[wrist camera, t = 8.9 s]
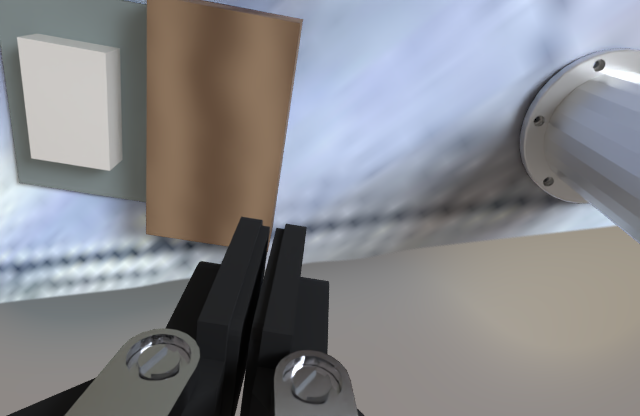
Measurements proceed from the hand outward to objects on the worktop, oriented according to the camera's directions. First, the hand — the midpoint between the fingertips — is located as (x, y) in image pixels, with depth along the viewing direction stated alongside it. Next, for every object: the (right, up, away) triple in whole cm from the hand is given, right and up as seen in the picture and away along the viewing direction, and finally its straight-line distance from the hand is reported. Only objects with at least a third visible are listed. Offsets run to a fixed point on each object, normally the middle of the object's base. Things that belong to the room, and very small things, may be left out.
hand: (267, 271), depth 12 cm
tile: (-17, +9, +22) cm, 29 cm away
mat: (-17, +10, +24) cm, 32 cm away
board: (-6, +8, +25) cm, 27 cm away
